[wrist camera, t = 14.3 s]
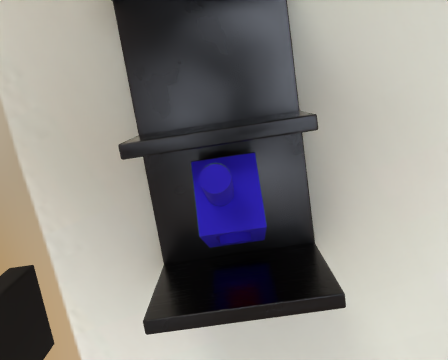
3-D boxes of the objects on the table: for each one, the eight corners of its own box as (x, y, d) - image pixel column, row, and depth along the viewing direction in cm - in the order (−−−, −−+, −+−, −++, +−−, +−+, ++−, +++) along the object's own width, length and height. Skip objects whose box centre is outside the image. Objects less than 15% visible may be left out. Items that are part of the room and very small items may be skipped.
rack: (113, -10, 25) (62, -56, 17) (280, -38, 24) (304, -98, 17) (167, 270, 28) (145, 335, 21) (313, 249, 28) (346, 308, 20)
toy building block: (255, 177, 28) (254, 132, 20) (264, 240, 27) (268, 218, 19) (202, 185, 28) (181, 143, 20) (209, 248, 27) (191, 229, 19)
